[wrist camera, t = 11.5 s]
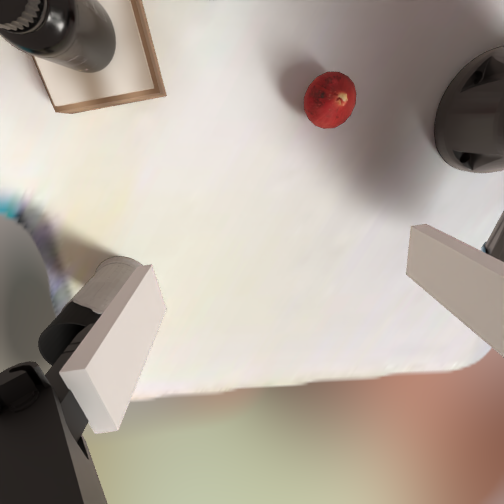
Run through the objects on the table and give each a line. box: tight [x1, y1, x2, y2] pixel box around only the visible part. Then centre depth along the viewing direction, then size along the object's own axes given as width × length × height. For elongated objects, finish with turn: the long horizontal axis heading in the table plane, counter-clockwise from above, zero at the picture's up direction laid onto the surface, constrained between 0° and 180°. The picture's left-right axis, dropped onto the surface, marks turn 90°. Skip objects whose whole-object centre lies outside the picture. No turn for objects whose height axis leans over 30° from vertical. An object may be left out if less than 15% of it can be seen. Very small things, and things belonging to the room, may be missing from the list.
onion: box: [304, 72, 356, 129], centre depth 32 cm, size 6×6×8 cm
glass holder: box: [38, 257, 143, 366], centre depth 38 cm, size 9×14×15 cm, turn 149°
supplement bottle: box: [0, 0, 116, 73], centre depth 22 cm, size 7×7×12 cm
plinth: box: [32, 0, 167, 114], centre depth 29 cm, size 12×12×4 cm
